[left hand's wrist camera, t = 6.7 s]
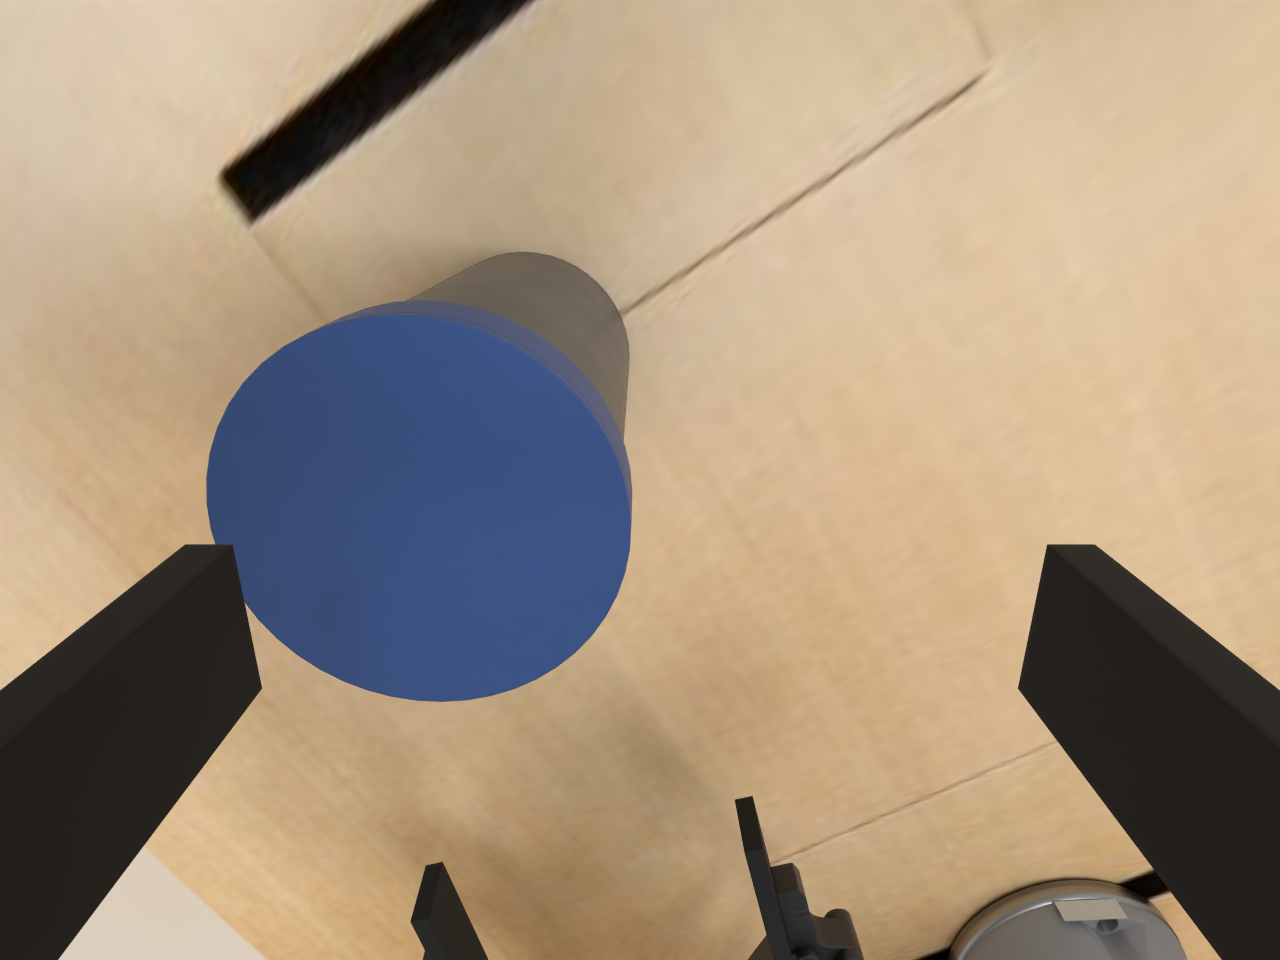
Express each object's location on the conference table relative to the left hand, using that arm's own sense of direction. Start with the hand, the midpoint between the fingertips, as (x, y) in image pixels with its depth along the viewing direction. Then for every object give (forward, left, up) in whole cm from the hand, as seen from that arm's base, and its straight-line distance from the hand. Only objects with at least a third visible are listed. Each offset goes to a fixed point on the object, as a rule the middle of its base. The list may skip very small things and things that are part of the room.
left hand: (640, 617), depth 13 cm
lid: (+2, -6, -7) cm, 9 cm away
